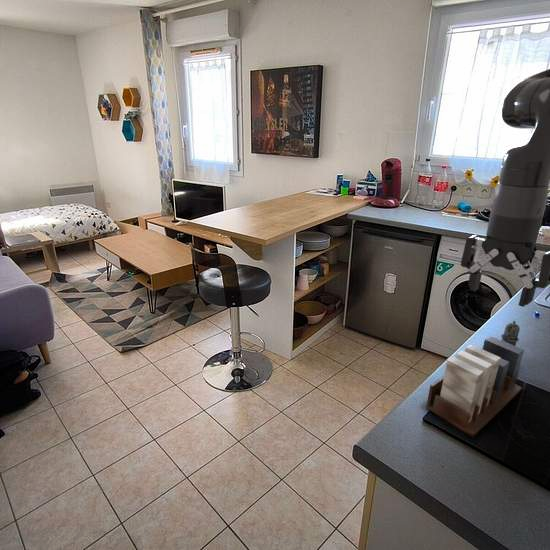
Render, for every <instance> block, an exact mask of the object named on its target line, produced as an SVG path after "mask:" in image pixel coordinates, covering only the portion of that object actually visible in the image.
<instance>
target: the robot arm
mask: <svg viewBox="0 0 550 550" xmlns="http://www.w3.org/2000/svg"><path fill="white" fill-rule="evenodd" d="M500 117H501V119H502V121H503V122H504V123H505V124H506V125H507V126H508V127H511V128H513V129H520V130H521V129H524V130H525V129H526V130H527V129H529V130H530V129H531V130H532V129H533V131H532V133H531V134H530V137H529V138H528V140H527V141H526V142H525V143H524V144H523V143H522V144H518V145H514V146H511V147H509V148H508V149H506V150H505V152H504V154H503V158H502V162H501V167H500V172H499V177H498V182H497V186H496V188H495V191H494V194H493V198H492V201H491V205H490V213H489V219H488V222H487V223H488V224H487V229H486V236H485V238H482V237H480V236H479V235H477V234H474V235H472V236H470V237H467V238H466V240H465V244H464V249H463V252H462V257H461V261H460V267H462V268H466V269H468V270H469V277H468V282H467V285H468V288H469V291H471V292H476V291H478V290H479V289H480V284H481V280H482V274H483V271H482V269H483V268H485V267H486V266H487V265H489V264H492V266H493V267H497V268H503V269H505V270H508V271H513V270H514V271H515V273H516V275H517V276H518V278H520V279H521V281H522V283H523V285H524V286H523V287H522V290H521V294H520V297H519V302H518V306H519V307H522V308H524V307H525V306H527V305H528V306H529V305H530V304H531V303H532V302H533V300H534V298H535V297H534V296H535V293H536V289H537V288H540V289H545V288H547V287H548V286H549V285H550V251H545V250H538V249H537V242H538V238H539V235H540V229H541V227H542V223H543V217H544V213H545V211H546V206H547V202H548V195H549V187H550V68H548V69H545V70H543V71H540V72H538V73H535V74H533V75H531V76H528V77H526V78H524V79H522V80H520V81H519V82H518V83H516V84H515V85H514V86H513V87H511V89H510V90H509V91H508V92H507V93H506V95H505V96H504V98H503V100H502V102H501V106H500ZM480 247H482V250H483V252H484V253H485V255H484V256H483V257H481V258H480V259H479V260H478V261H477V262H475V257H476V253H477V249H479V248H480ZM534 258H535V259H537V263H538V264H539V265H540V270H539V275H538V277H537V275H536V274H535V269H534V267H533V265H532V263H531V262H530V261H531V260H533V259H534Z"/></svg>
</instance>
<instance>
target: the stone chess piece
mask: <svg viewBox="0 0 550 550" xmlns="http://www.w3.org/2000/svg"><path fill="white" fill-rule="evenodd" d="M520 330H521V328H520V326H519V325H518V324H517V322H516V321H515V320H513V321H512V322H508V323H506V325H505V328H504V332H503V333H502V334H501V336H500V337H501V340H502V341H504V342H506V343H509V344H511V345H514V346H516V345H517V342H519V341H520V339H519V333H520ZM516 347H517V346H516Z"/></svg>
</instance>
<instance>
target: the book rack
mask: <svg viewBox="0 0 550 550" xmlns="http://www.w3.org/2000/svg"><path fill="white" fill-rule="evenodd" d="M464 351H465V352H467V353H469V354H471V355H473V356H476V357H478V358H480V359H482V360H484V361H486V362H488V363H491V364H492V368H491V372H490V375H489V379H488V383H487V387H486V391H485V395H484V398H483V402H482V406H481V410H480V413H479V414H478V412H479V408H480V406H478V405H476V400H477V396H478V392H479V388H480V384H481V380H482V376H483V372H484V371H482V370H479V369H477V368H475V367H473V366H471V365H469V364H467V363H465V362H463V361H461V360H459V359H457V358H456V356H451V357H449V358H447V361H446V365H445V370H444V374H443V375H442V376H440V378H438V379H436V380H435V381H434V382H433V383H431V384H430V385H429V390H428V395H427V401H426V405H425V409H427V410H429V411H430V412H432V413H434V414H435V415H436V416H438V417H440V418H442V419H443V420H444V421H446V422H447V423H449V424H451V425H453V426H454V427H455V428H457V429H459V430H460V431H462V432H464V433H465V434H466V435H468V436H470V437H471V438H474V437H475V436H476V435H477V434H478V433H480V432H481V431H482V429H484V428H485V426H487V424H489V423H490V422H491V421H492V420H493V419H494V418H495V417H496V416H497V415H498V414H499V413H500V412H501V411H502V410H503V409H504V408H505V407H506V406H507V405H508V404H510V402H511V401H513V399H514V398H516V397H517V395H519V394H520V393H521V392H522V390H523V387H522V386H520V385H518V384H516V382H517V379H518V377H519V376H518V375H519V372H520V371H519V369H520V365H521V362H522V358H523V356H524V352H525V349H524V348H521V347H519V346H514V345H511V344H509V343H506V342H504V341H502V339H500V338H497V337H494V336H492V335H490V336H488V337H486V338H485V339H484V342H483V346H482V347H481V348H480V347H478V346H476V345H474V344H469V345H467V346H466V347H465V350H464Z"/></svg>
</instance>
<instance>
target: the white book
mask: <svg viewBox="0 0 550 550" xmlns="http://www.w3.org/2000/svg"><path fill="white" fill-rule="evenodd" d="M455 355H456V356H455V358H457V359H459V360H461V361H463V362H465V363H467V364H469V365H471V366H473V367H475V368H477V369H479V370H482V371H484V372H483V376H482V380H481V384H480V388H479V392H478V396H477V400H476V405H478V406H480V408H479V412H478V414H479V413H480V410H481V406H482V402H483V398H484V395H485V391H486V387H487V383H488V379H489V375H490V372H491V368H492V364H491V363H488V362H486V361H484V360H482V359H480V358H478V357H476V356H473V355H471V354H469V353H467V352H465V350H463V349H462V350H460V351H458V352H456V354H455Z"/></svg>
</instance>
